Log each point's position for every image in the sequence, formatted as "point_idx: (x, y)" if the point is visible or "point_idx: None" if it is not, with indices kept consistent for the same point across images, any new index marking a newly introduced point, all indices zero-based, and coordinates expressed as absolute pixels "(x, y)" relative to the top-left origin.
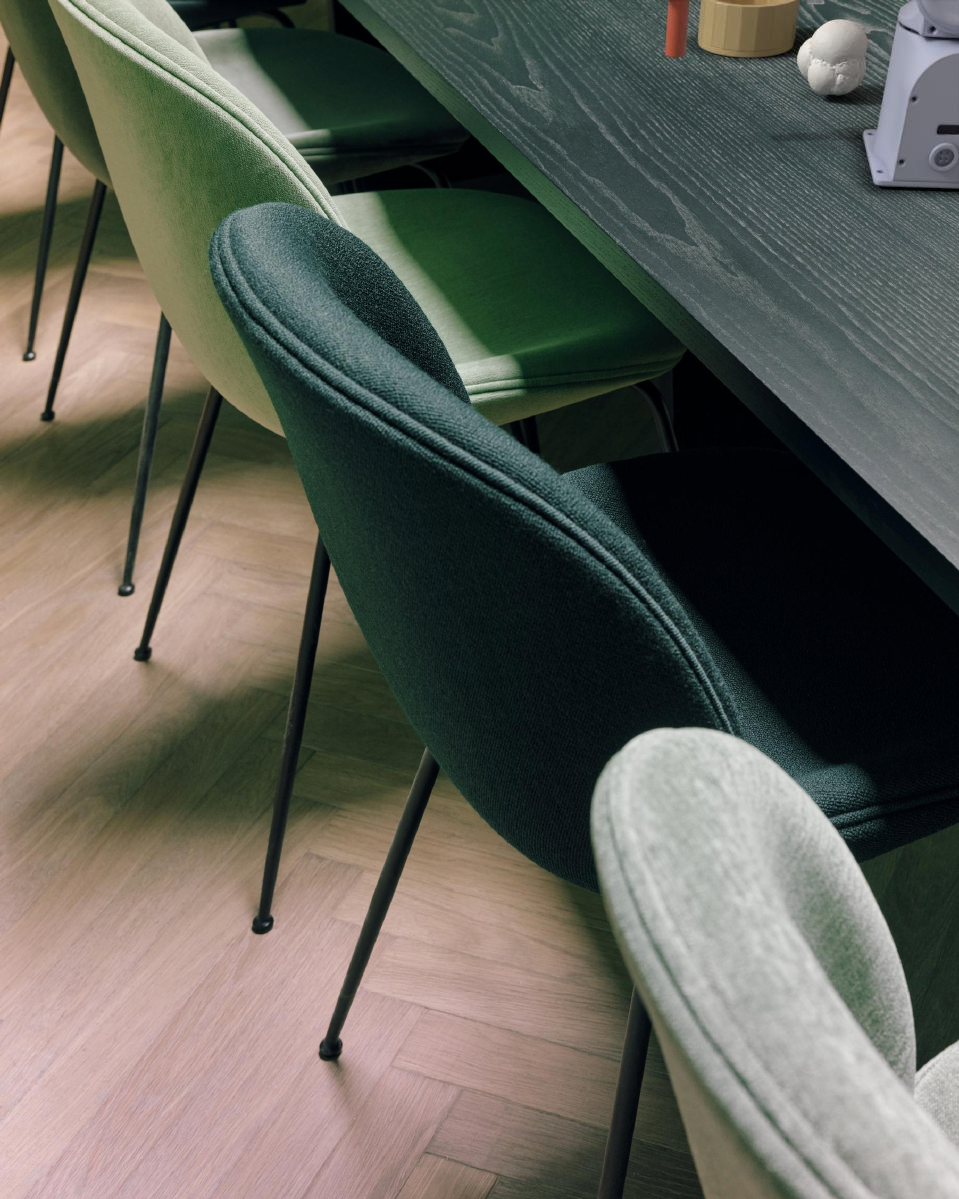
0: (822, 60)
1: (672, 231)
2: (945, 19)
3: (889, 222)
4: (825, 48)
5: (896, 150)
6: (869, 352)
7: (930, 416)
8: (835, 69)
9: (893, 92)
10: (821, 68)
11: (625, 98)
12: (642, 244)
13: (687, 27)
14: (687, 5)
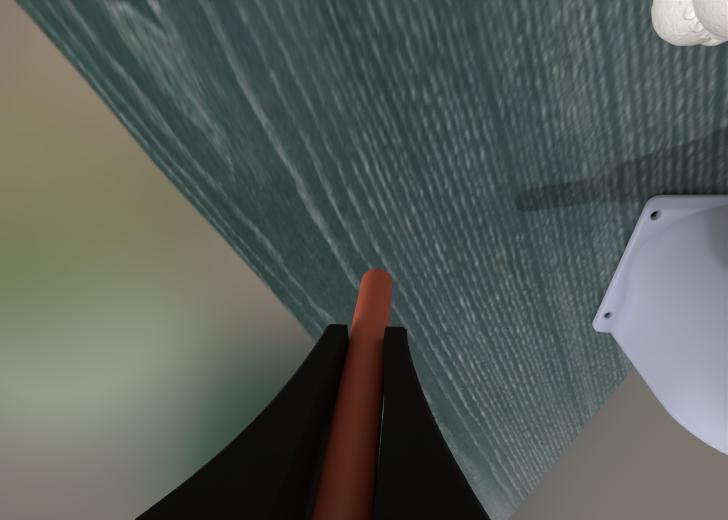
0: (700, 23)
1: None
2: None
3: (573, 375)
4: (722, 26)
5: (627, 351)
6: (498, 477)
7: (511, 504)
8: (716, 36)
9: (677, 339)
10: (685, 35)
11: (305, 50)
12: None
13: (390, 309)
14: None
